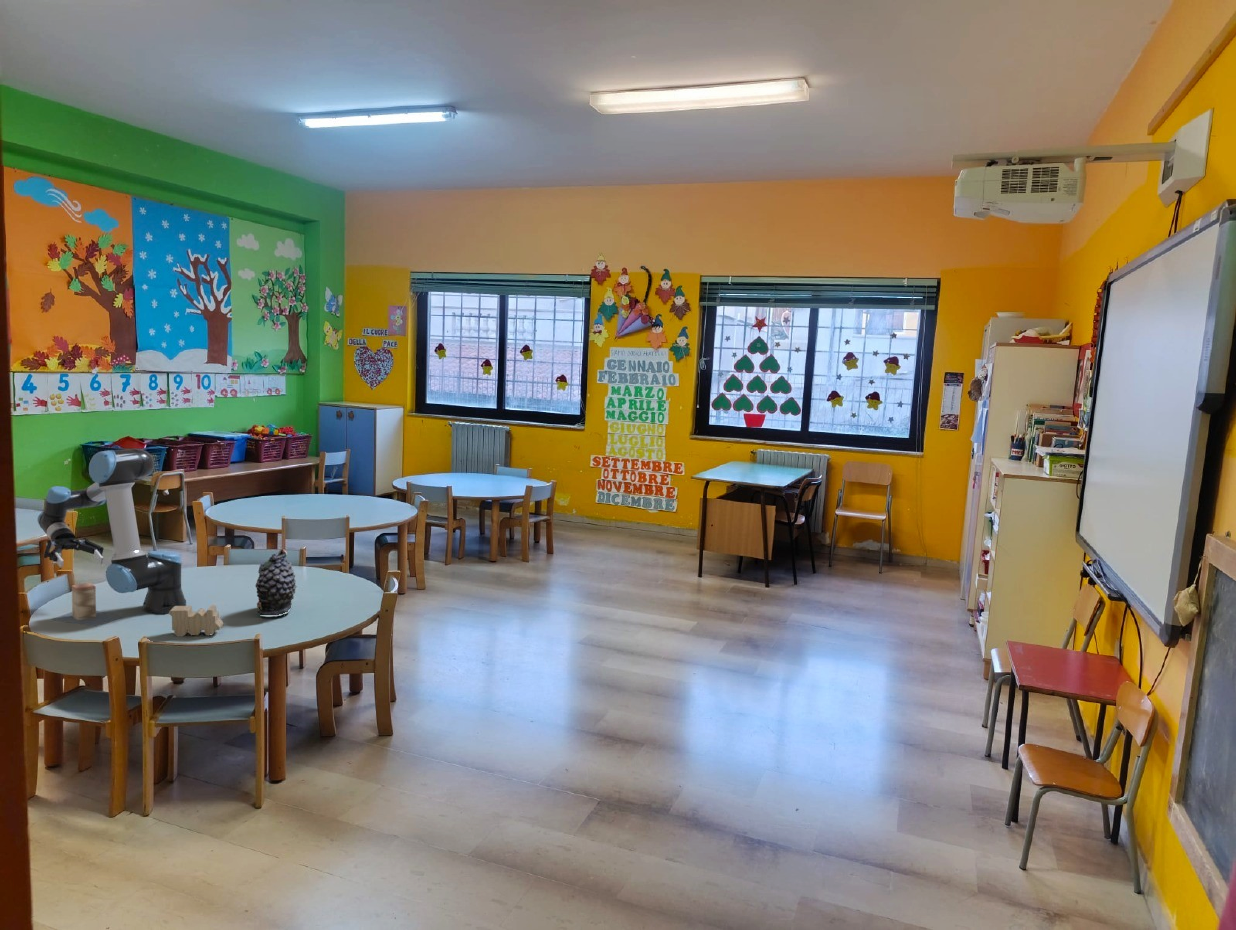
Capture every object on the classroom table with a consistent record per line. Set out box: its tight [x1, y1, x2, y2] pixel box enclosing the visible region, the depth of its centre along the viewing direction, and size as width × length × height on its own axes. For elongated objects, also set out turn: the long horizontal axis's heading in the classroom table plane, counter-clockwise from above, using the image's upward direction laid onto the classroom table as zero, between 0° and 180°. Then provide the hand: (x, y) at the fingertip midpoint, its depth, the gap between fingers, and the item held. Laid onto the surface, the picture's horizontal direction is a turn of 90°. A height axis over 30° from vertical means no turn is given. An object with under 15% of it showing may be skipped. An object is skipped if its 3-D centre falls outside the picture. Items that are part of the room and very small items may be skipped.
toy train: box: [168, 604, 224, 637], centre depth 297 cm, size 6×17×10 cm, turn 103°
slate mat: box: [50, 610, 127, 627], centre depth 306 cm, size 20×14×1 cm
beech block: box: [71, 582, 97, 620], centre depth 305 cm, size 6×6×12 cm
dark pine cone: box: [255, 548, 297, 615], centre depth 325 cm, size 21×15×25 cm
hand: (82, 562), depth 308 cm, fingers open, 13 cm apart
